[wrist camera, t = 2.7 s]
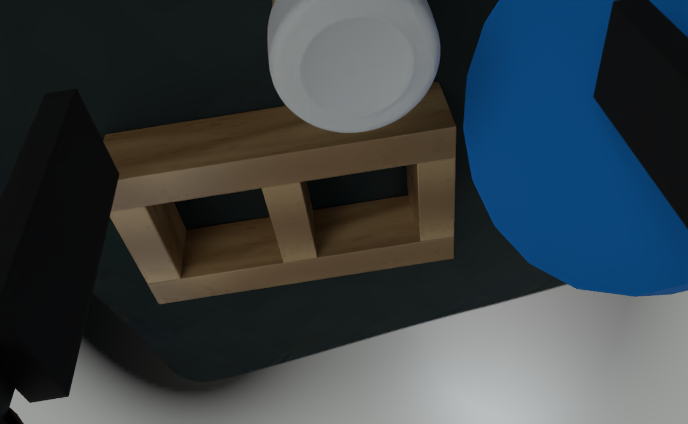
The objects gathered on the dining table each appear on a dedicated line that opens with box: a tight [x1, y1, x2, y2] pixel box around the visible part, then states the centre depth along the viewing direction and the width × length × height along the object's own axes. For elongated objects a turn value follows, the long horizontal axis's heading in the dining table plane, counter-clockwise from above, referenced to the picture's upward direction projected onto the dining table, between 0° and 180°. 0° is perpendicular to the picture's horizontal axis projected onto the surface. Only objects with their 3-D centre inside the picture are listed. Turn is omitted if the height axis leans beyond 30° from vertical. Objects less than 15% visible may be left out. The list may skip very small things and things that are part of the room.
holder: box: [103, 82, 456, 304], centre depth 34 cm, size 10×18×4 cm, turn 97°
